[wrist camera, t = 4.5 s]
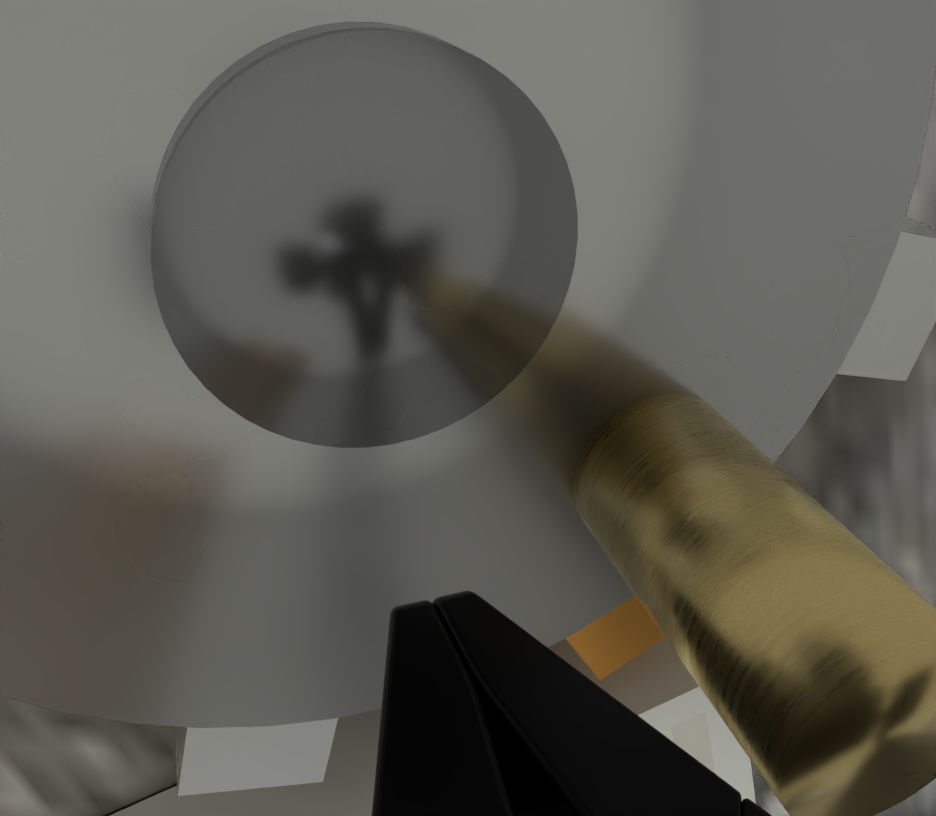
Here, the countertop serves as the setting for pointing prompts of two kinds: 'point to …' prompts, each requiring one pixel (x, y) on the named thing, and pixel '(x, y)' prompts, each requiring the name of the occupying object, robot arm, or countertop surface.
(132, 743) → the countertop surface
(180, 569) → the sprocket
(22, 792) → the countertop surface
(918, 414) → the countertop surface
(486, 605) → the robot arm
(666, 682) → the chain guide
